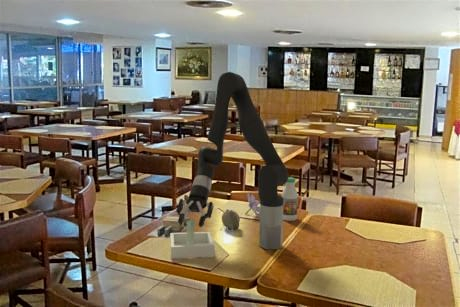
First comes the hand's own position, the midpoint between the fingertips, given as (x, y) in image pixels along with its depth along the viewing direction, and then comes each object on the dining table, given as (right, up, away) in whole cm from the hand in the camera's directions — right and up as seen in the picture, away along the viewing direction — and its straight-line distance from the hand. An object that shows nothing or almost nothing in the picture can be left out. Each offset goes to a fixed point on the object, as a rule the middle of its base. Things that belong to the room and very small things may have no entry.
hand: (190, 225), depth 182 cm
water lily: (+28, -3, +51) cm, 58 cm away
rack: (-11, -7, +24) cm, 28 cm away
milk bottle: (+44, -4, +46) cm, 64 cm away
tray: (0, -10, +3) cm, 11 cm away
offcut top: (-10, -3, +27) cm, 29 cm away
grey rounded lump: (+16, -6, +30) cm, 35 cm away
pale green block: (0, -9, +3) cm, 10 cm away
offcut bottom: (-10, -5, +27) cm, 29 cm away
